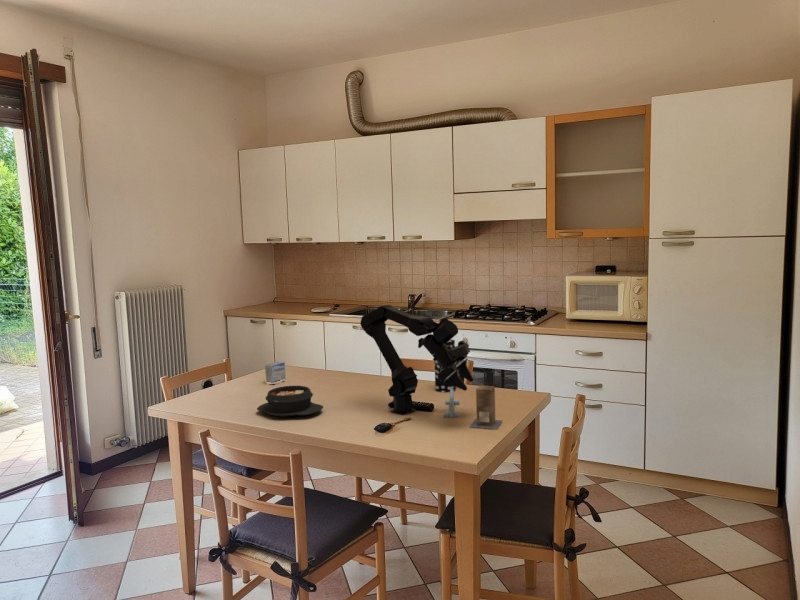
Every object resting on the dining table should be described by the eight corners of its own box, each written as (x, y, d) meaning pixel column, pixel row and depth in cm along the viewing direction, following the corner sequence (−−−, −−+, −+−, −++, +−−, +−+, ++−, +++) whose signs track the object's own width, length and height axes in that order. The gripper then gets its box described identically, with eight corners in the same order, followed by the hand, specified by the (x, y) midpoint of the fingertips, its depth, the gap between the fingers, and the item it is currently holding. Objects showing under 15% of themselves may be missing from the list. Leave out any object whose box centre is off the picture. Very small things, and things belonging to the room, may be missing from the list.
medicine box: (273, 385, 260) (272, 365, 259) (265, 384, 263) (264, 364, 262) (286, 381, 267) (285, 362, 266) (278, 380, 269) (277, 361, 268)
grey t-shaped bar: (458, 417, 205) (458, 402, 205) (444, 417, 206) (443, 403, 205) (459, 402, 223) (458, 389, 222) (445, 402, 224) (445, 389, 223)
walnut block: (476, 425, 195) (475, 389, 194) (480, 420, 200) (479, 385, 198) (491, 426, 193) (491, 390, 192) (495, 421, 198) (494, 386, 197)
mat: (469, 427, 194) (469, 426, 194) (476, 419, 202) (476, 418, 202) (497, 429, 191) (497, 428, 191) (502, 421, 199) (502, 420, 199)
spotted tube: (453, 392, 237) (451, 343, 235) (432, 391, 240) (431, 342, 237) (458, 387, 245) (456, 339, 243) (438, 386, 247) (436, 338, 245)
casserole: (246, 417, 214) (244, 394, 214) (276, 403, 231) (275, 382, 231) (305, 423, 204) (304, 399, 204) (333, 408, 221) (332, 386, 221)
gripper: (448, 341, 189) (481, 379, 188) (462, 328, 207) (492, 363, 205) (424, 363, 193) (456, 400, 192) (439, 348, 211) (469, 382, 209)
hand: (469, 385), depth 199 cm, fingers open, 9 cm apart
